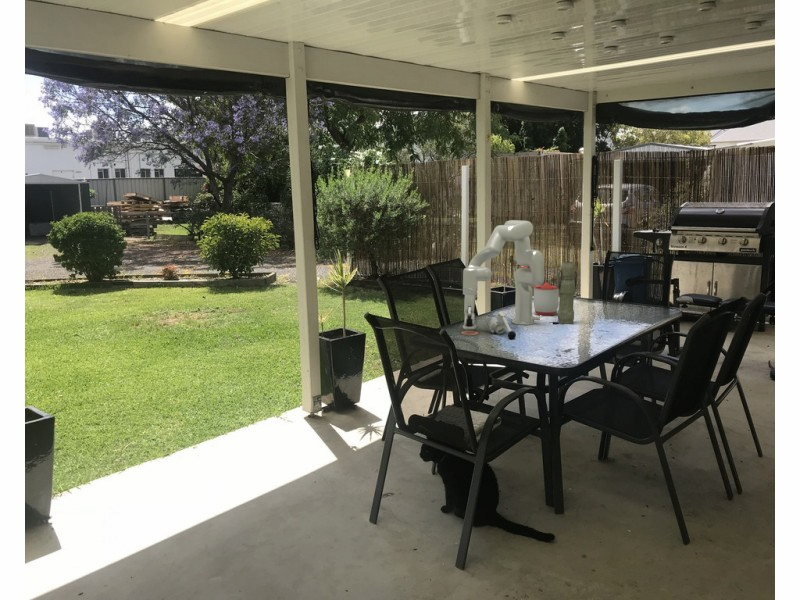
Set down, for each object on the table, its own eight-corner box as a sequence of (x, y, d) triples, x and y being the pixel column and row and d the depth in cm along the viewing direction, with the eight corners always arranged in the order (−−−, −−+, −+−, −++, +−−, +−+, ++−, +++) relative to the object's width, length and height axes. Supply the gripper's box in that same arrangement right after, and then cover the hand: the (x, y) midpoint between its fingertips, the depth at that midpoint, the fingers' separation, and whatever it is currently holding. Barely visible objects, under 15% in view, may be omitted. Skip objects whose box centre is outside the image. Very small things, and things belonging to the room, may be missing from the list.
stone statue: (579, 324, 364) (581, 262, 358) (560, 325, 361) (562, 263, 356) (571, 321, 373) (573, 261, 367) (552, 322, 370) (554, 261, 364)
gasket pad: (478, 331, 345) (478, 331, 345) (478, 335, 336) (478, 334, 336) (461, 331, 346) (461, 330, 346) (460, 334, 338) (460, 334, 338)
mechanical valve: (502, 325, 348) (510, 307, 337) (515, 351, 338) (523, 334, 327) (485, 327, 345) (492, 310, 334) (497, 354, 335) (505, 337, 324)
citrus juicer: (564, 316, 386) (565, 283, 382) (535, 316, 386) (536, 283, 383) (558, 312, 401) (559, 280, 398) (530, 312, 401) (531, 280, 398)
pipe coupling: (462, 326, 345) (463, 312, 343) (476, 326, 344) (476, 312, 343) (462, 328, 338) (462, 314, 337) (475, 329, 337) (476, 315, 336)
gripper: (463, 289, 347) (462, 322, 349) (462, 293, 330) (461, 328, 333) (477, 289, 346) (476, 322, 349) (477, 294, 329) (476, 328, 332)
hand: (469, 325), depth 341 cm, fingers closed on pipe coupling, 5 cm apart
